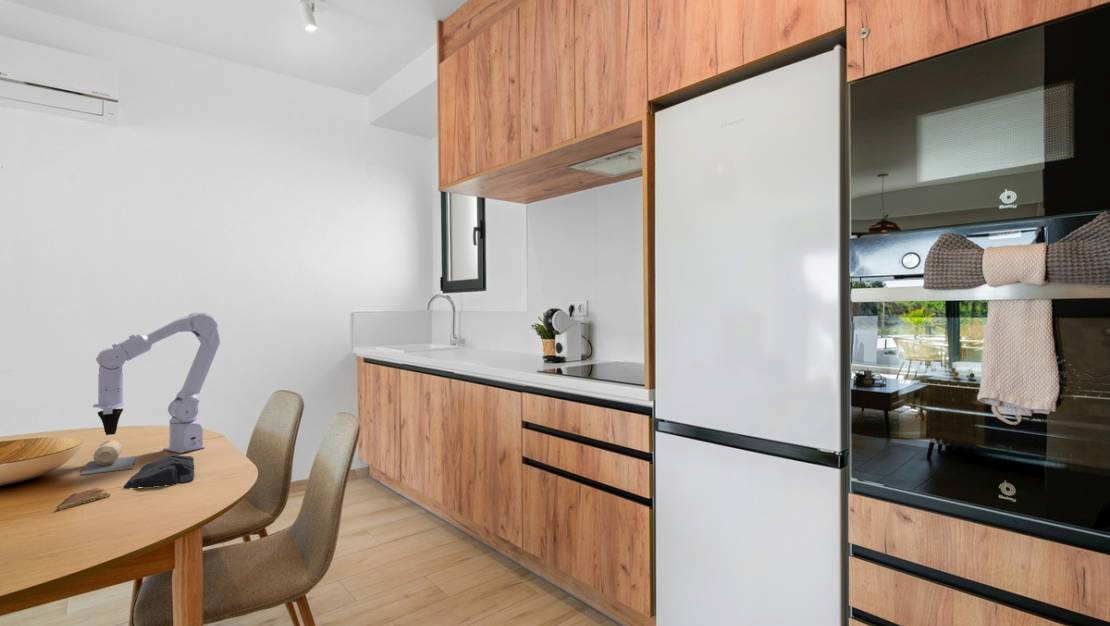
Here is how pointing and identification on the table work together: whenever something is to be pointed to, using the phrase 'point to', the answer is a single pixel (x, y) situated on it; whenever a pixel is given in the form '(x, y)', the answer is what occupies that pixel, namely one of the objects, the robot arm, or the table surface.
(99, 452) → the candle
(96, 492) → the shard
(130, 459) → the slate mat
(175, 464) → the dark slate chunk
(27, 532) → the table surface
